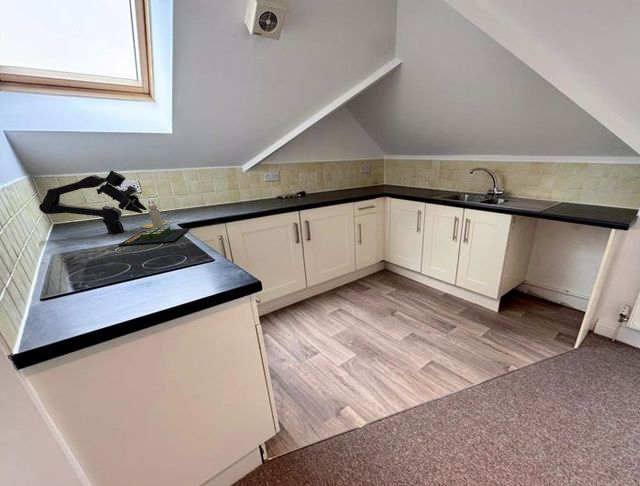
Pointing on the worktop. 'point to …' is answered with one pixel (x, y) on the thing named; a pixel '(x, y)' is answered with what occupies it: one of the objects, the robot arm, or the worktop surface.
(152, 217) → the toy rabbit
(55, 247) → the worktop surface
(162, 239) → the sushi
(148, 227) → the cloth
